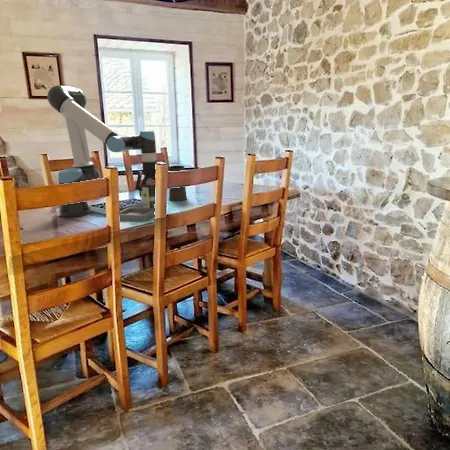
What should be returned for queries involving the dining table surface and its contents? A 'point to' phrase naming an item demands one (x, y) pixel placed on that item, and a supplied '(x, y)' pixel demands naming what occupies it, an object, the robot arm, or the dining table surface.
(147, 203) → the coffee can
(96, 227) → the dining table surface
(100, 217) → the dining table surface
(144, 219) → the holder tray
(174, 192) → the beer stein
